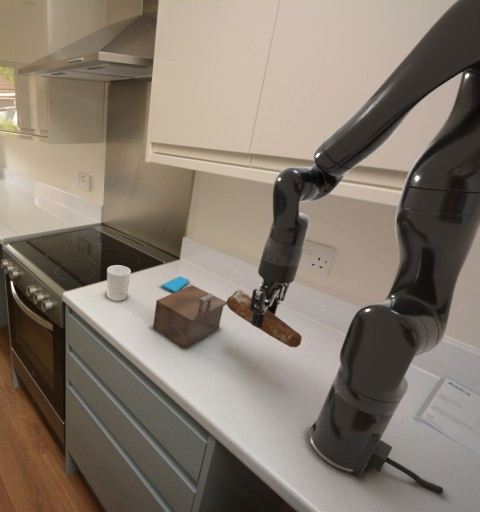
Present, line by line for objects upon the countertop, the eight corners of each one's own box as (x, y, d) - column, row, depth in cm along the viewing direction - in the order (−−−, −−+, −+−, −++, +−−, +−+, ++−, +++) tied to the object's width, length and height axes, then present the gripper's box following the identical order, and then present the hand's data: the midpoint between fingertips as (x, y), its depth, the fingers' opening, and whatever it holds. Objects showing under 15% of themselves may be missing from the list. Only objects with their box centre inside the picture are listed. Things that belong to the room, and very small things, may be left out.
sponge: (193, 282, 128) (180, 274, 132) (174, 291, 121) (161, 283, 124) (192, 285, 129) (180, 278, 132) (173, 295, 121) (160, 287, 125)
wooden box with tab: (226, 304, 99) (229, 291, 97) (191, 323, 89) (194, 308, 87) (191, 287, 107) (193, 274, 106) (156, 302, 98) (158, 289, 96)
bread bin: (218, 328, 103) (224, 303, 99) (184, 349, 93) (189, 322, 89) (187, 311, 111) (191, 287, 107) (152, 328, 101) (156, 302, 98)
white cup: (113, 288, 122) (115, 263, 119) (132, 295, 118) (135, 269, 114) (101, 296, 117) (102, 270, 113) (120, 304, 112) (122, 277, 108)
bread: (239, 305, 92) (244, 287, 90) (304, 347, 76) (311, 327, 74) (222, 310, 90) (226, 291, 87) (284, 354, 74) (291, 333, 72)
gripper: (283, 272, 69) (263, 339, 76) (311, 256, 77) (291, 319, 84) (248, 259, 74) (232, 323, 81) (278, 246, 83) (261, 305, 89)
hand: (262, 321), depth 82 cm, fingers closed on bread, 6 cm apart
